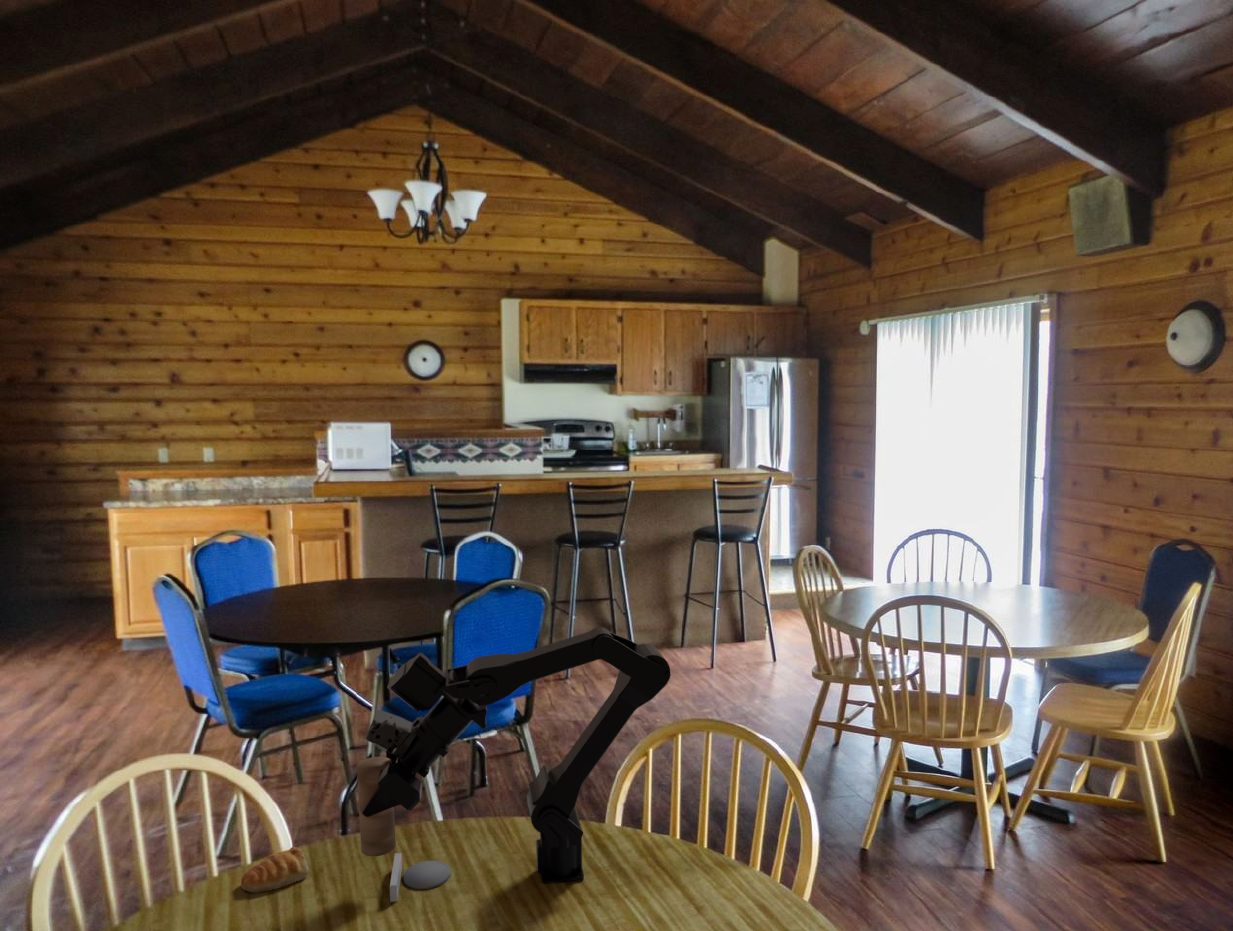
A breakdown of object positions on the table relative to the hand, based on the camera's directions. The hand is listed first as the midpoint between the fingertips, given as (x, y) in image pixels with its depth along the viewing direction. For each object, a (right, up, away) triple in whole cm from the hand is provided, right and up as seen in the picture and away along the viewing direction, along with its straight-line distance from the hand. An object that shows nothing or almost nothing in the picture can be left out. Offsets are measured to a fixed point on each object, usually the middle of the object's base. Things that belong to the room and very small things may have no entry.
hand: (367, 806), depth 131 cm
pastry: (-15, -13, +4) cm, 20 cm away
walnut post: (+1, -7, +1) cm, 7 cm away
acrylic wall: (+4, -13, +2) cm, 14 cm away
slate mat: (+8, -13, +5) cm, 16 cm away
